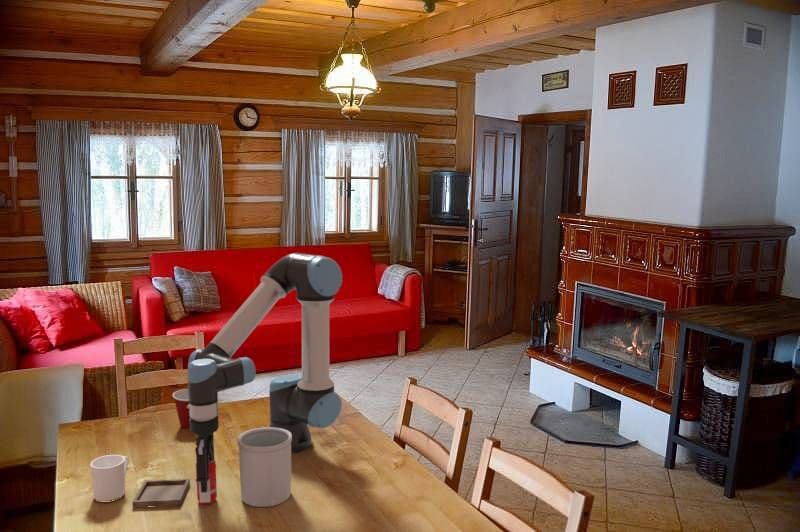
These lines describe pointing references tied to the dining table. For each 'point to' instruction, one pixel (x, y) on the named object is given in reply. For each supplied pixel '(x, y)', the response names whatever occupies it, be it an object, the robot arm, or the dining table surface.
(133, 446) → the dining table surface
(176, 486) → the tray
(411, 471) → the dining table surface
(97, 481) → the mug
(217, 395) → the robot arm
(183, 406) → the plastic cup
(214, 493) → the beverage can
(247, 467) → the utensil holder
